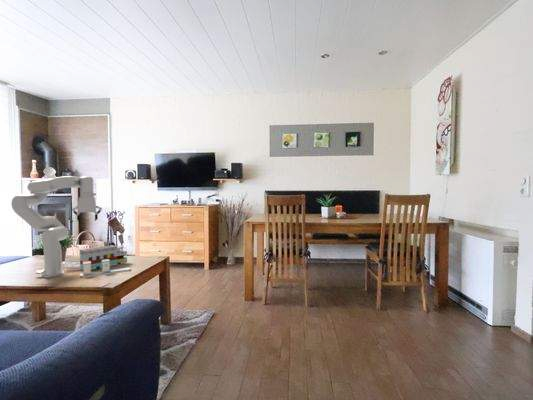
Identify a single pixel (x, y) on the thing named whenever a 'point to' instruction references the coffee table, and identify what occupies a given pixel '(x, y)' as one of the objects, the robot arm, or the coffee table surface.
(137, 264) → the coffee table surface
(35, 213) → the robot arm
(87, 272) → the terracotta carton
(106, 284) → the coffee table surface
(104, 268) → the teal carton
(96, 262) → the toy vehicle
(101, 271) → the shelf board
